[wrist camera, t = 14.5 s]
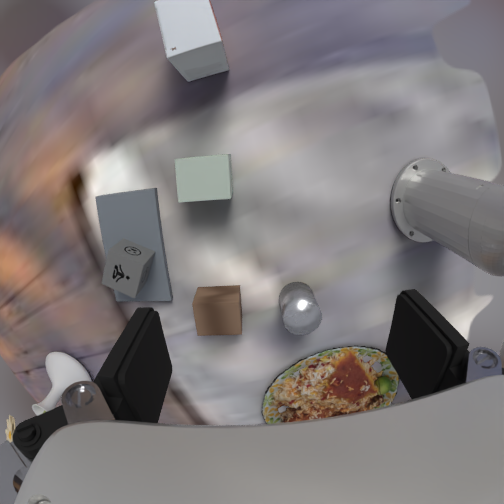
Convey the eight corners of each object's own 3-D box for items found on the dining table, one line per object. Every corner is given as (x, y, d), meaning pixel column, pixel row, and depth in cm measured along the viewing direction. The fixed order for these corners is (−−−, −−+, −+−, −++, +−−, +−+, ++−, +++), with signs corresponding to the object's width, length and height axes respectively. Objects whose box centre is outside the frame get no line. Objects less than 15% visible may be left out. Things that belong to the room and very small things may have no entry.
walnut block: (239, 285, 41) (238, 302, 36) (242, 315, 43) (241, 334, 38) (198, 286, 41) (192, 304, 37) (202, 316, 43) (197, 335, 38)
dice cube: (123, 238, 37) (108, 250, 33) (155, 251, 38) (143, 265, 33) (116, 269, 39) (101, 283, 34) (146, 282, 40) (134, 298, 35)
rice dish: (276, 334, 46) (278, 355, 41) (418, 342, 46) (430, 359, 41) (252, 432, 55) (252, 451, 50) (367, 433, 55) (372, 449, 50)
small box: (229, 71, 31) (223, 42, 22) (187, 83, 32) (166, 60, 22) (215, 22, 29) (205, -16, 19) (174, 34, 29) (152, 1, 19)
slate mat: (156, 187, 36) (154, 189, 35) (172, 297, 42) (171, 300, 41) (98, 195, 36) (95, 196, 35) (119, 298, 42) (116, 301, 41)
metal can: (313, 280, 41) (323, 300, 35) (312, 310, 43) (320, 333, 37) (278, 283, 41) (283, 303, 35) (279, 313, 43) (283, 336, 37)
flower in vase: (74, 343, 45) (9, 439, 21) (105, 387, 49) (61, 484, 25) (37, 351, 46) (-22, 429, 23) (65, 390, 50) (21, 471, 26)
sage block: (230, 154, 35) (228, 154, 31) (232, 192, 37) (230, 198, 32) (183, 158, 35) (174, 159, 31) (187, 196, 37) (178, 202, 32)
